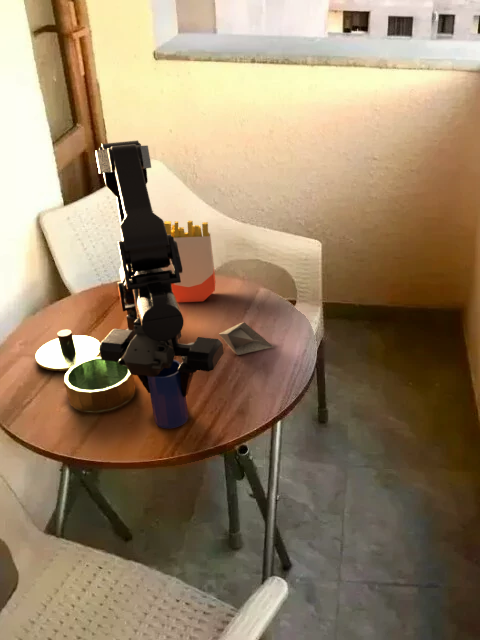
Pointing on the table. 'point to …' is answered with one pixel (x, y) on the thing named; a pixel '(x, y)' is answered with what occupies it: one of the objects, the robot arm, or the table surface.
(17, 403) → the table surface
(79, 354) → the lid
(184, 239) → the french fries container
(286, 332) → the table surface
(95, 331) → the table surface
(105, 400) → the pot
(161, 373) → the cup
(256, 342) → the paper boat
